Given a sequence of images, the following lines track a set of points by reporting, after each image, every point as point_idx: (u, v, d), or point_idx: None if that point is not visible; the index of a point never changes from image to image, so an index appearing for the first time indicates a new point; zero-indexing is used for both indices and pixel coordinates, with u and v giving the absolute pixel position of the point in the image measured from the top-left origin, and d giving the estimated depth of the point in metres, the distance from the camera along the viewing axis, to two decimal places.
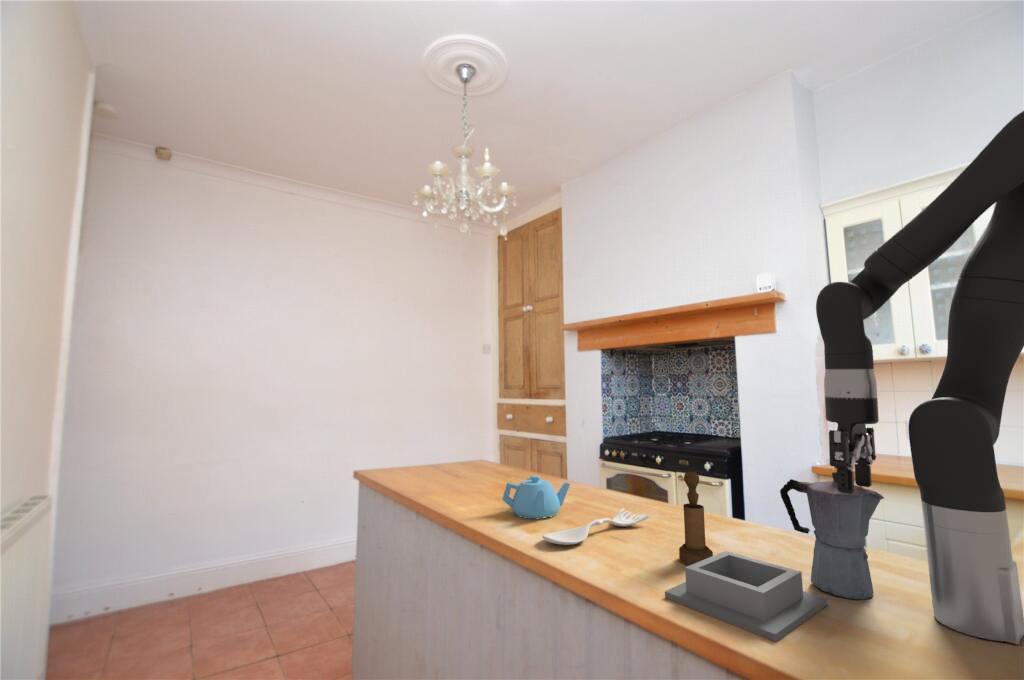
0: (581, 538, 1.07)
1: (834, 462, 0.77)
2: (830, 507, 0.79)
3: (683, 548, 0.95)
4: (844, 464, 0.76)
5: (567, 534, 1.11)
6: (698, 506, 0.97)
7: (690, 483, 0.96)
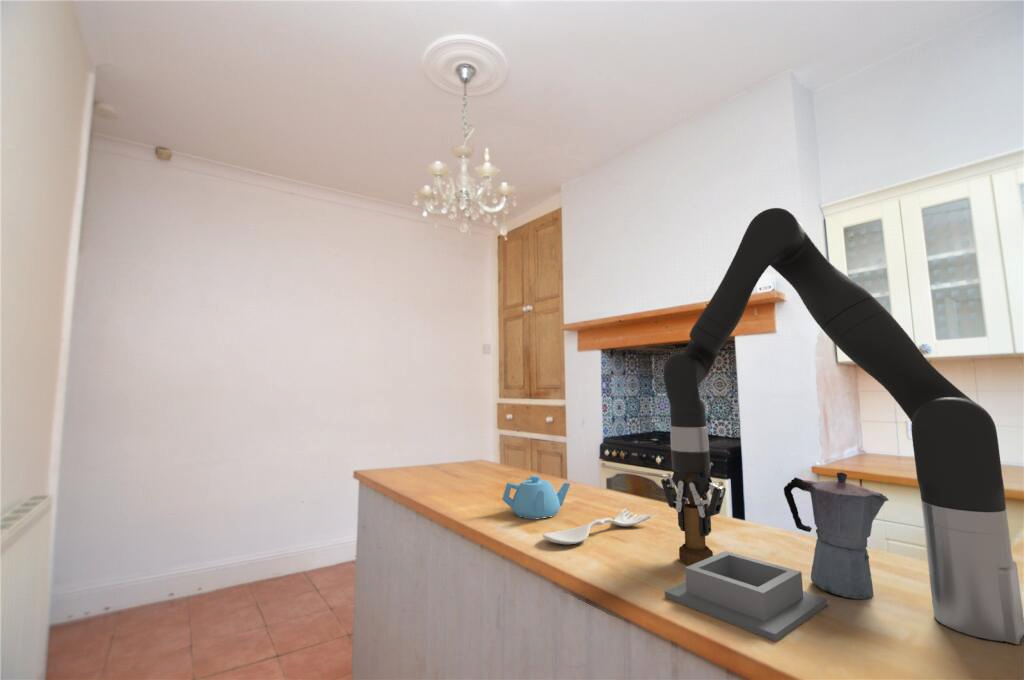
0: (582, 538, 1.07)
1: (715, 513, 0.92)
2: (832, 507, 0.79)
3: (683, 548, 0.95)
4: (718, 512, 0.93)
5: (568, 534, 1.11)
6: None
7: None
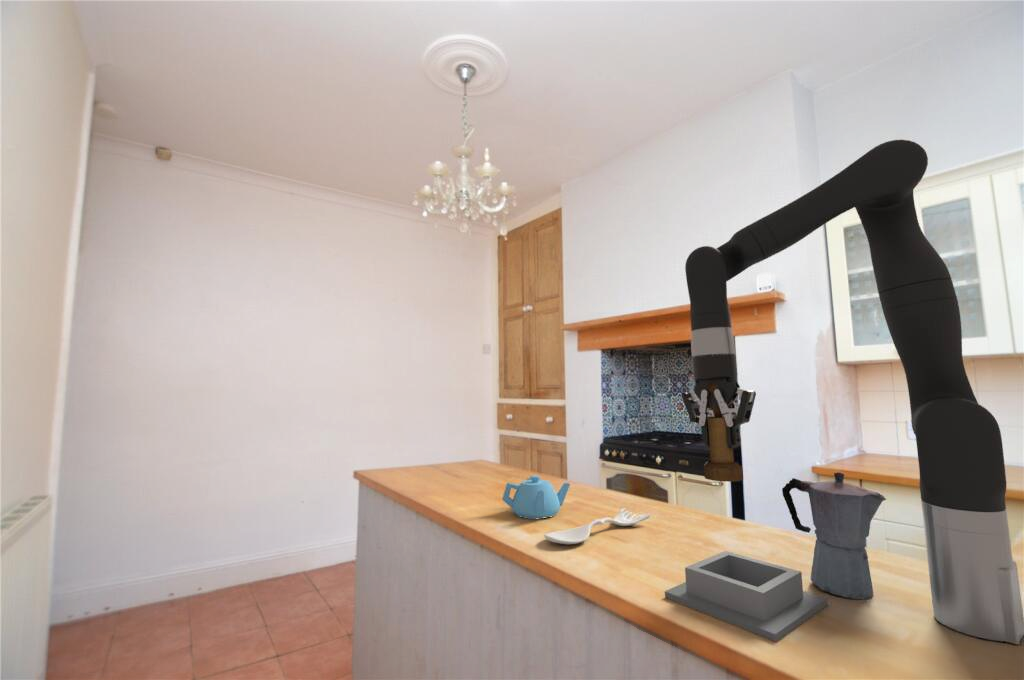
0: (583, 537, 1.08)
1: (744, 420, 0.81)
2: (830, 506, 0.80)
3: (708, 463, 0.85)
4: (748, 420, 0.82)
5: (569, 534, 1.11)
6: (724, 418, 0.87)
7: None
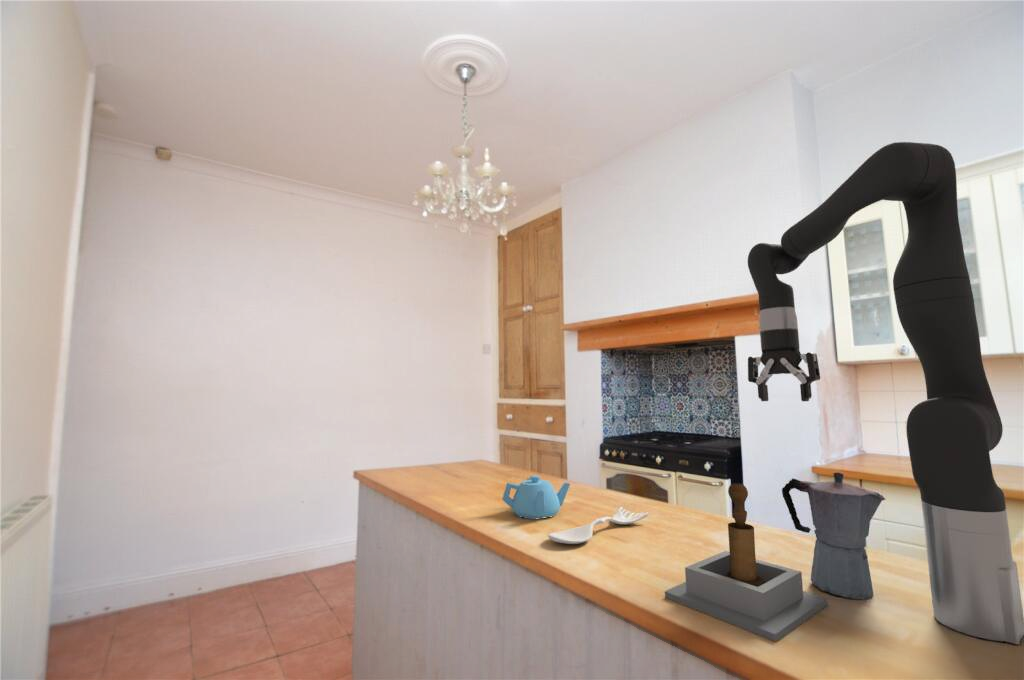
0: (586, 537, 1.08)
1: (816, 376, 0.98)
2: (829, 506, 0.80)
3: None
4: (819, 377, 0.99)
5: (571, 533, 1.12)
6: (746, 526, 0.79)
7: (737, 498, 0.78)
